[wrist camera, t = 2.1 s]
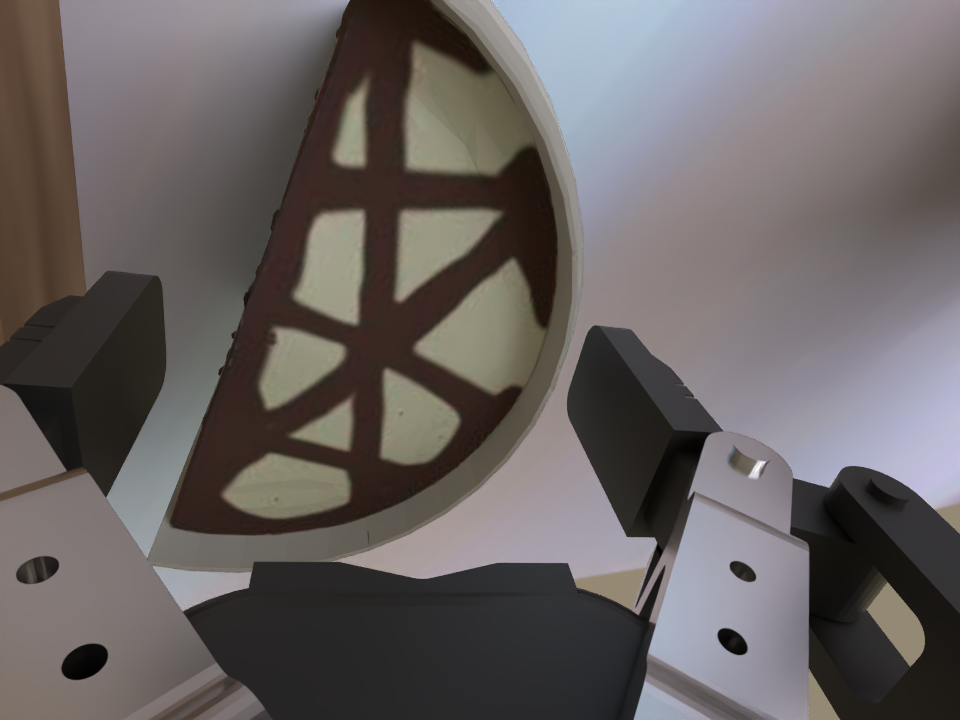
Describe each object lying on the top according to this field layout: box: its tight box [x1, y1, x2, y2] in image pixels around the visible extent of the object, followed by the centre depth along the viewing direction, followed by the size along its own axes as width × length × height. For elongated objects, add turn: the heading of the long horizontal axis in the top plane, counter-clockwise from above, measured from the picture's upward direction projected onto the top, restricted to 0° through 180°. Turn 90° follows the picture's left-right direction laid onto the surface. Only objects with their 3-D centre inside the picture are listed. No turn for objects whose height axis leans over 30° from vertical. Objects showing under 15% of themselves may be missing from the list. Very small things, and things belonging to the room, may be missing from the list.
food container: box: [147, 0, 583, 573], centre depth 15 cm, size 12×6×10 cm, turn 153°
